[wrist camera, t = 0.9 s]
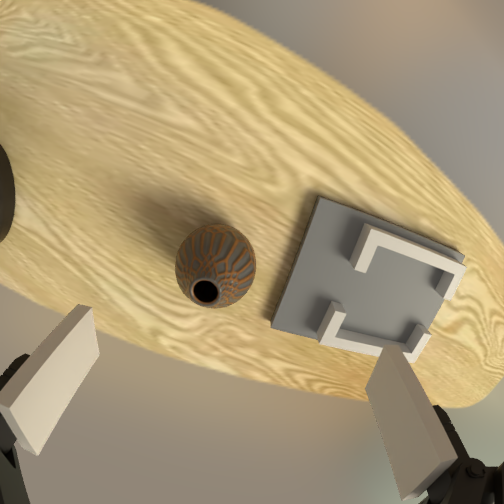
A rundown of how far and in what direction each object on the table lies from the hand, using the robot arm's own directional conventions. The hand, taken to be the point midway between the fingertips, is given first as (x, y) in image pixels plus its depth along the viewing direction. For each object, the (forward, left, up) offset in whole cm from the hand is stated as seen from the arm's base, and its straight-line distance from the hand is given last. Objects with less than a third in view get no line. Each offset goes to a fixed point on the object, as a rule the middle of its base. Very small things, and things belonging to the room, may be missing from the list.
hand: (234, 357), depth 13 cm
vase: (-2, -2, -18) cm, 18 cm away
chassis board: (+14, -1, -18) cm, 22 cm away
